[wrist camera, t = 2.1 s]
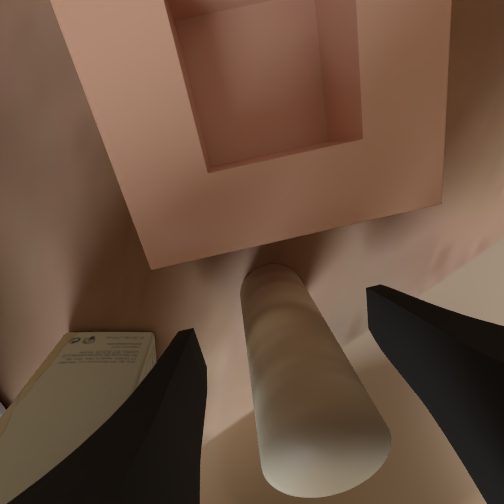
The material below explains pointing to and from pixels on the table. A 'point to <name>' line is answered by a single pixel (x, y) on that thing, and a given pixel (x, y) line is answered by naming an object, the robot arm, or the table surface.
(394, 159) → the socket block
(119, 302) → the table surface
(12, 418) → the skincare box
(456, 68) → the table surface
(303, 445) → the beech peg
